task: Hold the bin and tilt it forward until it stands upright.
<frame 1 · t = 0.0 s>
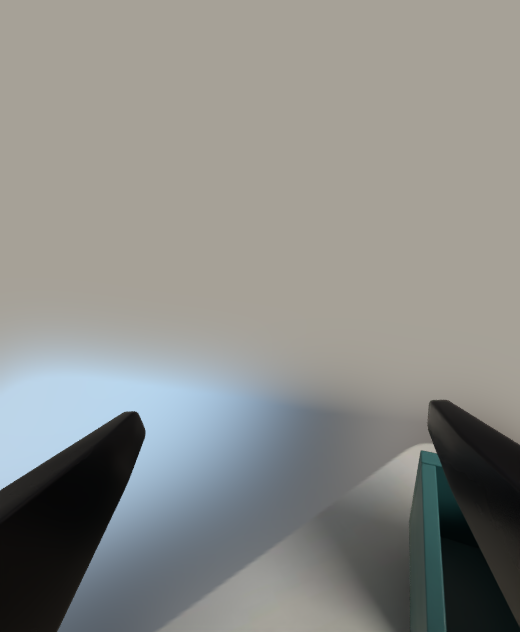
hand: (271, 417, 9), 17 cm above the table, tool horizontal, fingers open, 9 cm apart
bin: (497, 594, 12), point 6 cm above the table, hinge at 20.0°
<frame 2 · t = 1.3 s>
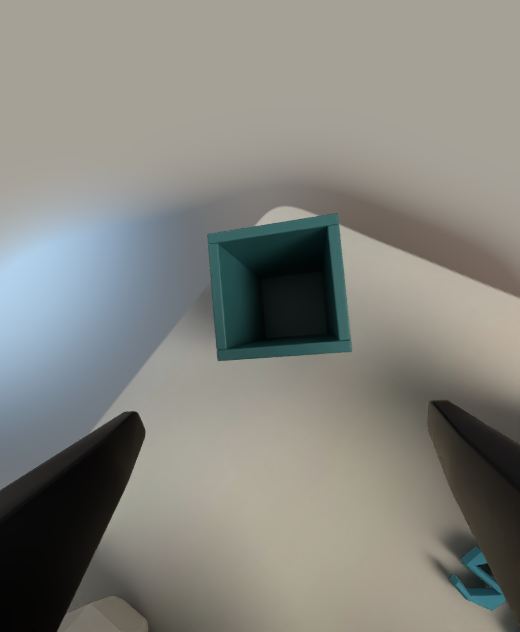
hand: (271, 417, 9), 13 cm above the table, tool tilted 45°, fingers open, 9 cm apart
bin: (287, 300, 18), point 6 cm above the table, hinge at 20.0°
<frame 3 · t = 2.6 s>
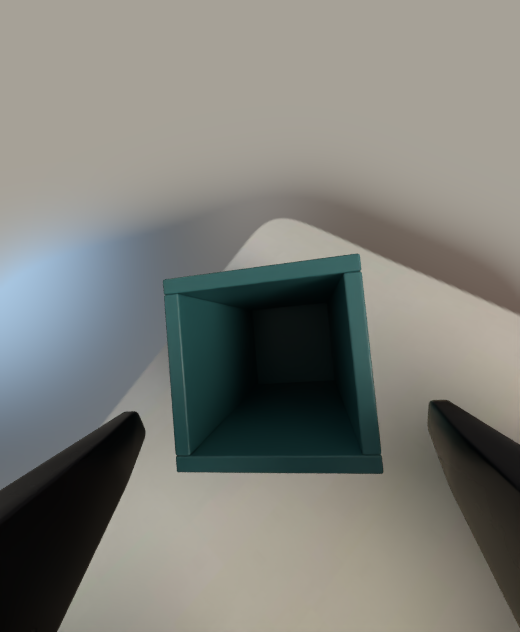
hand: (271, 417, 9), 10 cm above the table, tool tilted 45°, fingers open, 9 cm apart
bin: (283, 351, 14), point 6 cm above the table, hinge at 20.0°
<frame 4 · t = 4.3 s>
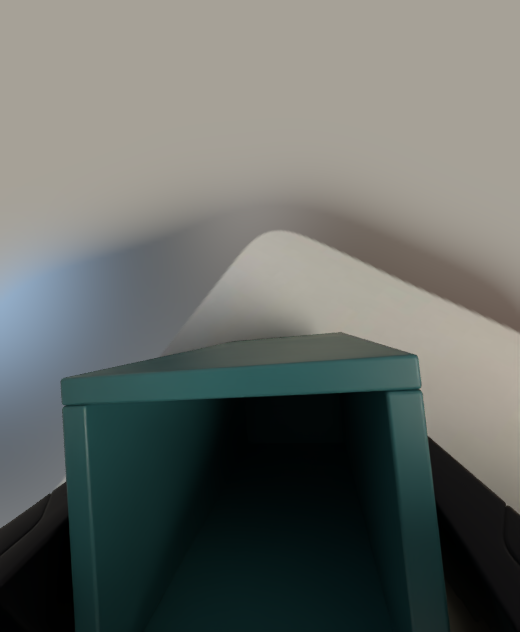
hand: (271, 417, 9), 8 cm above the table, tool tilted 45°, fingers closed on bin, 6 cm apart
bin: (277, 429, 10), point 6 cm above the table, hinge at 20.0°, touching gripper
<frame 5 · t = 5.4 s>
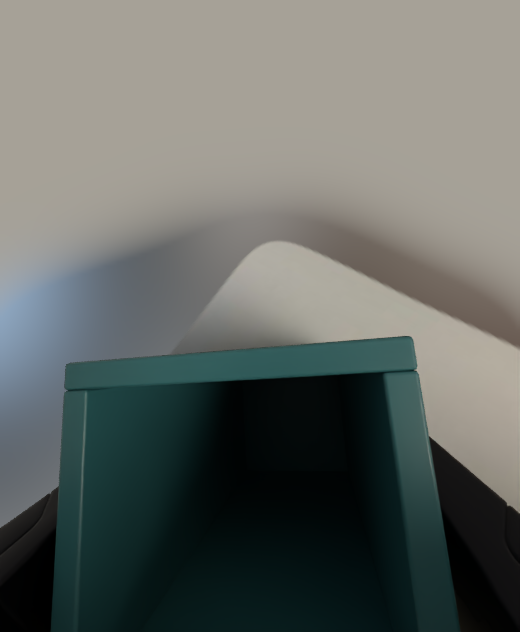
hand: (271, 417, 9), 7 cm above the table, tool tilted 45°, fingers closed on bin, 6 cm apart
bin: (277, 446, 9), point 6 cm above the table, hinge at 11.6°, touching gripper
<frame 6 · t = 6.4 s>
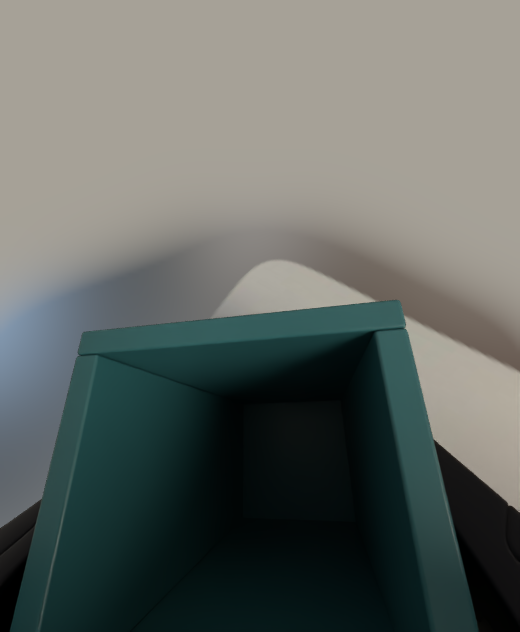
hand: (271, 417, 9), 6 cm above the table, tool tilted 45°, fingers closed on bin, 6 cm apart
bin: (277, 468, 9), point 5 cm above the table, hinge at 0.0°, touching gripper
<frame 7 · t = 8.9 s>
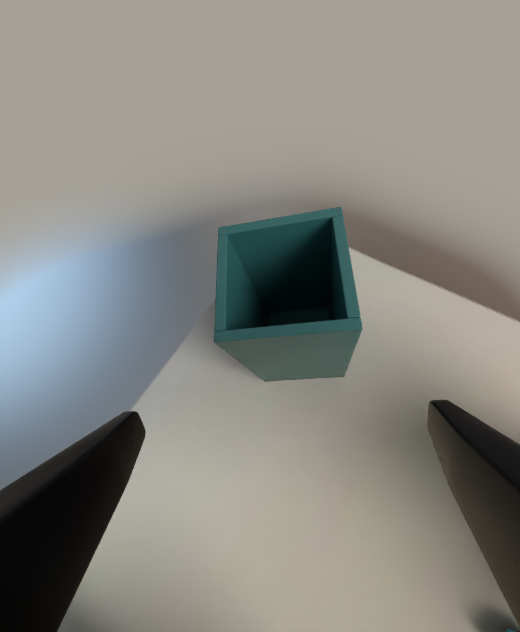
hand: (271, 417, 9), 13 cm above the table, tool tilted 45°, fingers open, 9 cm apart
bin: (293, 316, 17), point 6 cm above the table, hinge at 0.0°
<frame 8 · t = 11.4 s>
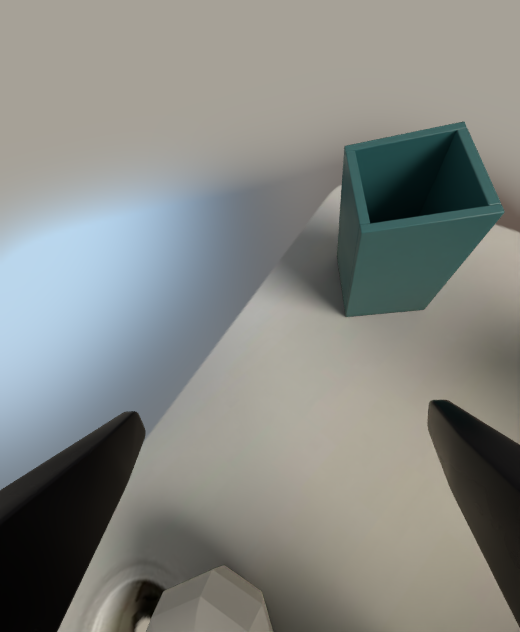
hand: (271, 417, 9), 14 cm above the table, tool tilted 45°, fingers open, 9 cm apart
white faceted rounded piece: (233, 618, 18), on the table
bin: (391, 242, 19), point 6 cm above the table, hinge at 0.0°
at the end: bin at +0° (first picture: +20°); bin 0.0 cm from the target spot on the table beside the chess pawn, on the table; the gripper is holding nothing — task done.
